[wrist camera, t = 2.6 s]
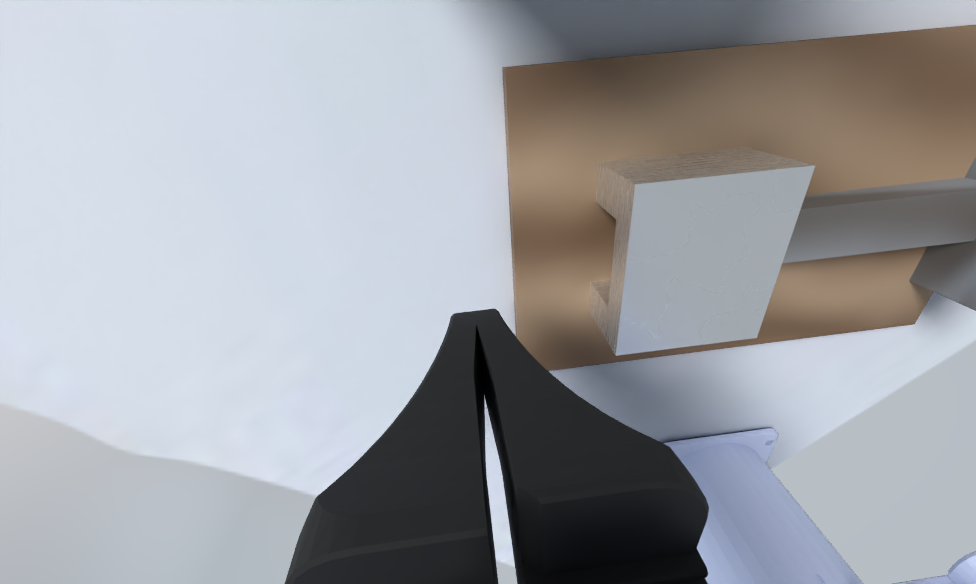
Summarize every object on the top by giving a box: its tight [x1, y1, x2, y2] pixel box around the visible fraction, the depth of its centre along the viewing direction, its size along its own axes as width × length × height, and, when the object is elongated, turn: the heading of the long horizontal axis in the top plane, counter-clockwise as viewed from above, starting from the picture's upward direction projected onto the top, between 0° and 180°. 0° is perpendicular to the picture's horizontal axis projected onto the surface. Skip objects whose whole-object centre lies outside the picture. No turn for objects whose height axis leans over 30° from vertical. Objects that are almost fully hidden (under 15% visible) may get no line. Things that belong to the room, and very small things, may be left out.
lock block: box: [589, 147, 815, 356], centre depth 16 cm, size 7×6×3 cm
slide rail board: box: [503, 25, 976, 371], centre depth 16 cm, size 14×22×5 cm, turn 94°
